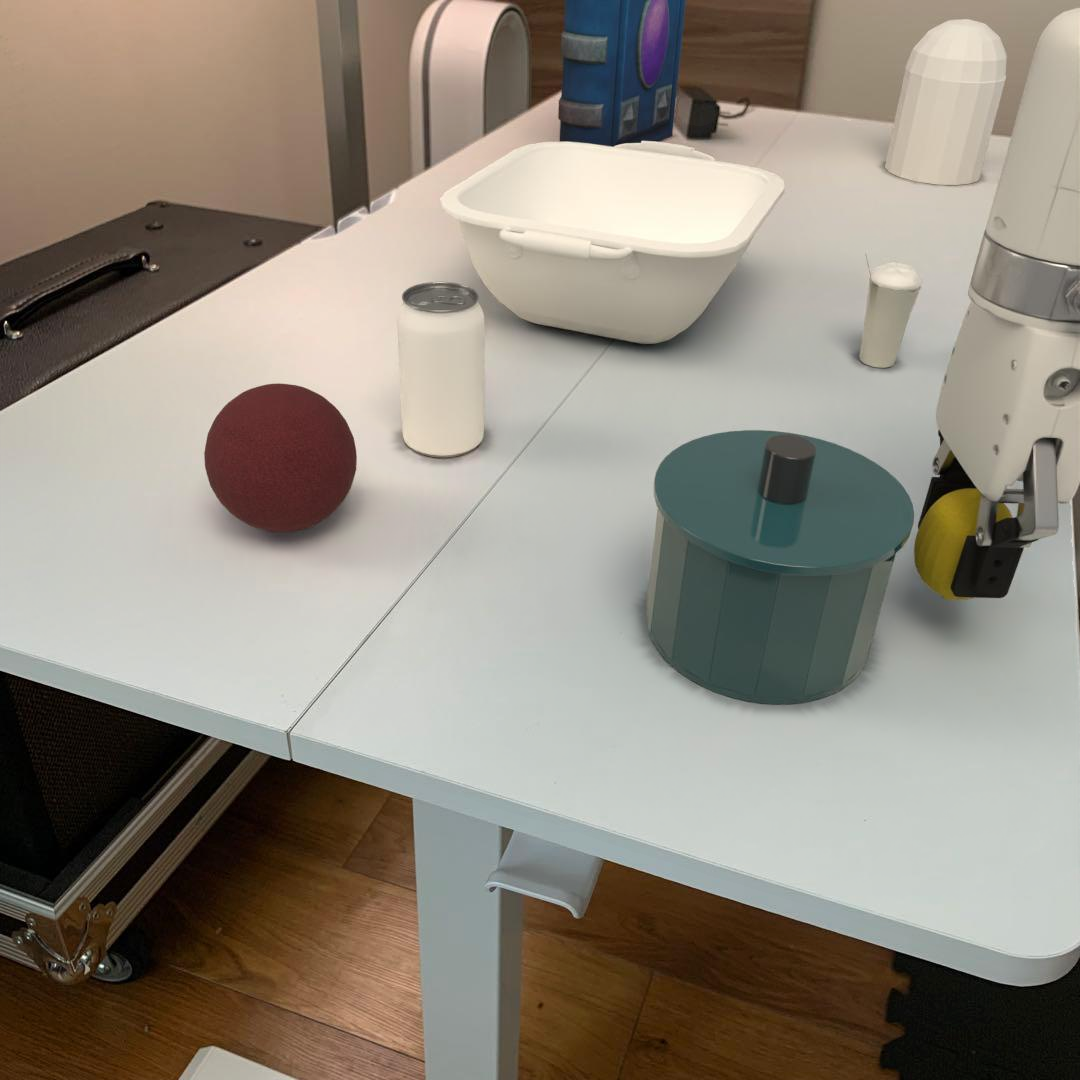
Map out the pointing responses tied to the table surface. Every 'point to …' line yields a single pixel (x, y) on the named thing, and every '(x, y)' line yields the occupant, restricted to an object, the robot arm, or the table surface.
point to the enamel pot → (759, 623)
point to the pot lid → (783, 502)
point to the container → (948, 104)
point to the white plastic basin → (610, 233)
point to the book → (619, 70)
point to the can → (441, 368)
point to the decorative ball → (280, 457)
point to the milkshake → (888, 312)
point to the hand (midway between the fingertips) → (959, 560)
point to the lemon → (948, 538)
